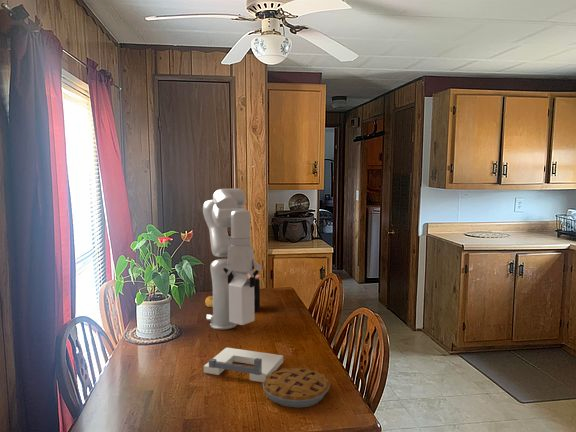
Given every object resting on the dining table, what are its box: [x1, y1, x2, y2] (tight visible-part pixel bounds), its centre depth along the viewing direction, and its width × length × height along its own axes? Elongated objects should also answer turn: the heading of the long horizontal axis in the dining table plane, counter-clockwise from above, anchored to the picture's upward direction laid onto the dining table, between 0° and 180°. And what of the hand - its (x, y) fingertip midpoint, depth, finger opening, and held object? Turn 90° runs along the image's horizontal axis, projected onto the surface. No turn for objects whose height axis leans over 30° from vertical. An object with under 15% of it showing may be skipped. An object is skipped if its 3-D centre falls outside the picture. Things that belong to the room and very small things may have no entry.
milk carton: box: [229, 273, 256, 326], centre depth 177 cm, size 7×7×19 cm
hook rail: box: [208, 357, 262, 375], centre depth 159 cm, size 20×2×5 cm, turn 71°
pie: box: [262, 366, 331, 408], centre depth 148 cm, size 22×22×5 cm
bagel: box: [204, 295, 213, 309], centre depth 243 cm, size 10×11×5 cm
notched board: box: [203, 347, 284, 383], centre depth 167 cm, size 24×18×2 cm
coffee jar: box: [247, 273, 261, 313], centre depth 235 cm, size 11×11×18 cm
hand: (241, 285), depth 177 cm, fingers closed on milk carton, 8 cm apart
